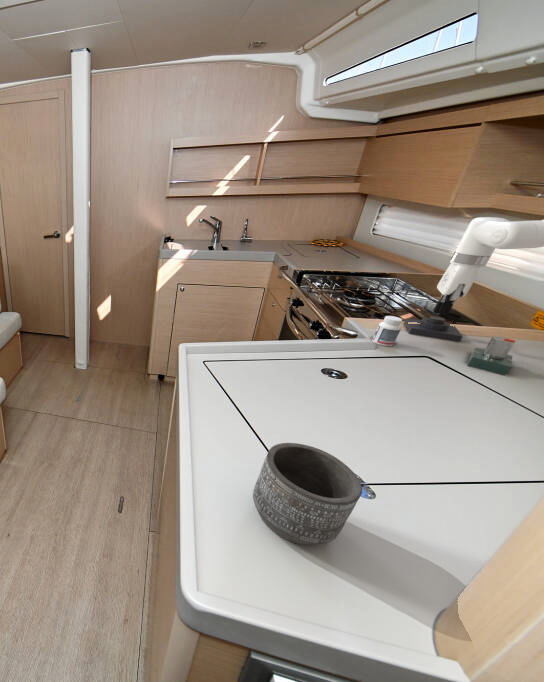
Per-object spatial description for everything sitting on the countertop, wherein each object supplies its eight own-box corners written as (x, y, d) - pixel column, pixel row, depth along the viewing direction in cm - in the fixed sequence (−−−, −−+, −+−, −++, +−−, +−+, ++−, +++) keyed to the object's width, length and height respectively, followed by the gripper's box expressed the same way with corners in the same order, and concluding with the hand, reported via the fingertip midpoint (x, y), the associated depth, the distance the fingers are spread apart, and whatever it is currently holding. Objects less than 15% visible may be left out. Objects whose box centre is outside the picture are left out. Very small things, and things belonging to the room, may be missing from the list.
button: (441, 322, 120) (443, 317, 119) (443, 326, 117) (446, 321, 117) (426, 320, 122) (428, 315, 121) (428, 323, 119) (431, 318, 118)
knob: (481, 355, 101) (492, 338, 98) (482, 351, 103) (494, 333, 101) (503, 361, 98) (515, 342, 96) (504, 356, 100) (516, 338, 98)
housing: (451, 331, 122) (457, 320, 120) (459, 342, 114) (465, 331, 113) (403, 323, 128) (408, 313, 126) (408, 333, 121) (413, 323, 119)
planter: (258, 547, 57) (281, 493, 51) (240, 487, 68) (257, 436, 62) (346, 566, 54) (381, 511, 48) (313, 500, 65) (339, 448, 59)
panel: (467, 355, 107) (473, 345, 106) (509, 365, 102) (516, 356, 100) (463, 365, 103) (469, 355, 101) (508, 376, 97) (514, 366, 95)
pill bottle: (397, 346, 114) (410, 321, 109) (381, 346, 114) (393, 321, 110) (382, 338, 118) (394, 314, 114) (367, 339, 118) (378, 315, 114)
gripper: (446, 252, 117) (419, 304, 125) (458, 263, 106) (428, 318, 115) (479, 255, 113) (450, 308, 121) (496, 266, 102) (462, 323, 111)
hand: (439, 313), depth 118 cm, fingers closed
